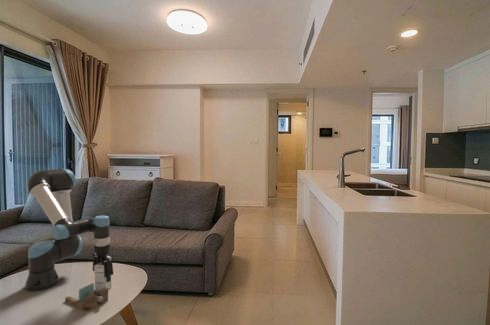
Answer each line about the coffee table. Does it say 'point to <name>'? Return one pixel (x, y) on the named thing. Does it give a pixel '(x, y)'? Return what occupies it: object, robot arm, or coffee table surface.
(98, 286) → the syrup box
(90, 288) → the pusher
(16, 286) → the coffee table surface
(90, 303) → the lane
